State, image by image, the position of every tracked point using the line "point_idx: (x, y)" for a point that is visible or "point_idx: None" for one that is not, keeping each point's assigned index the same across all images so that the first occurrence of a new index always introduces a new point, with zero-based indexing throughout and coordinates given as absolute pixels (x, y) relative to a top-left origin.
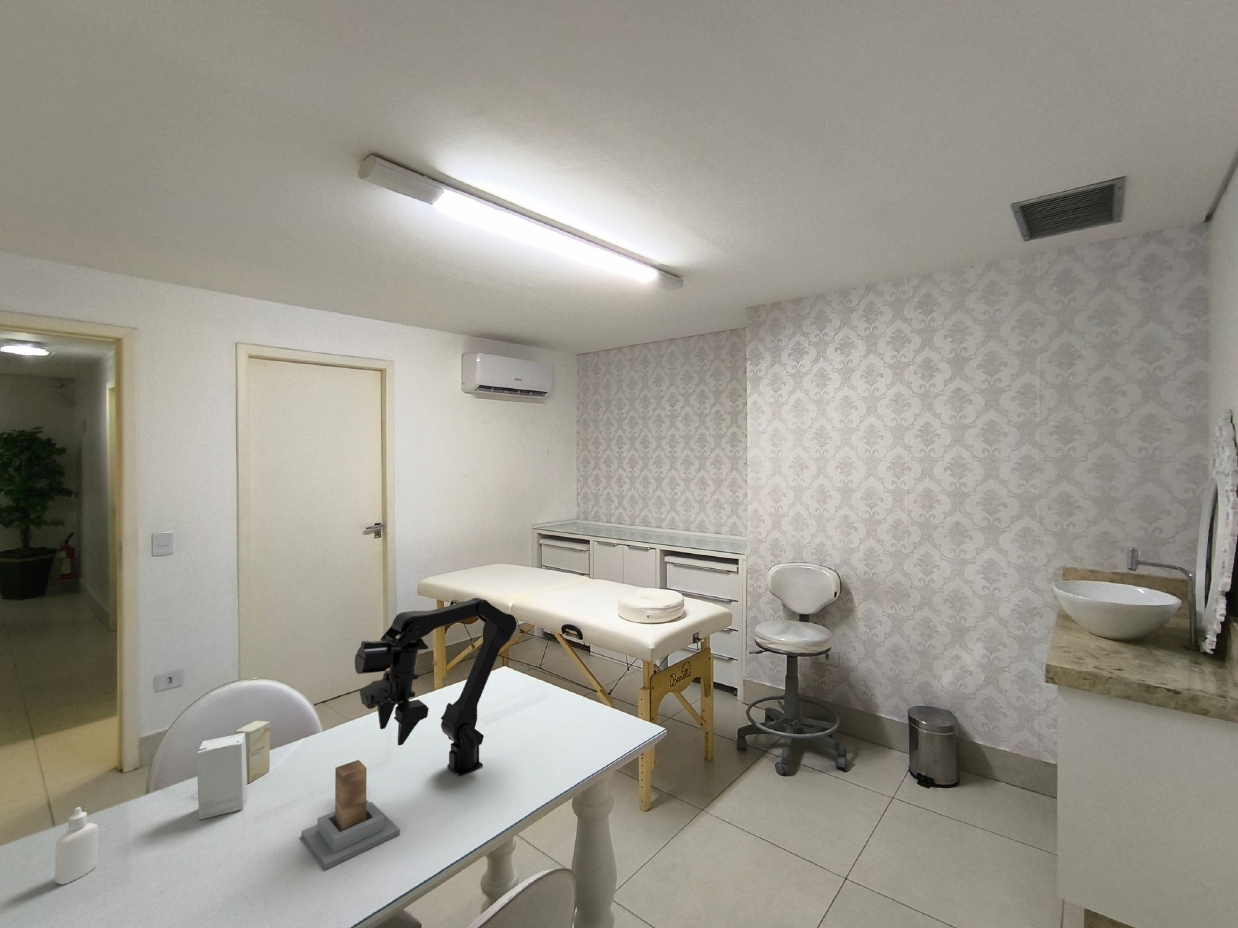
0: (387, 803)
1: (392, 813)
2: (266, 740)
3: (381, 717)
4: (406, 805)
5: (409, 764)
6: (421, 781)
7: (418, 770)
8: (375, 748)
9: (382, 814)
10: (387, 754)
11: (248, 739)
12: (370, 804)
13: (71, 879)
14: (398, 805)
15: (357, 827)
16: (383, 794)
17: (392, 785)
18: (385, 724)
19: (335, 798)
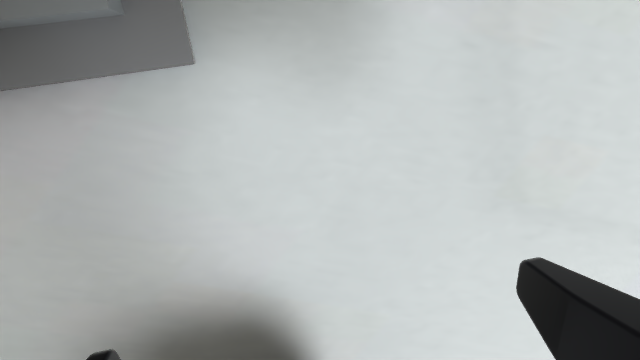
0: (178, 129)
1: (71, 128)
2: None
3: (637, 348)
4: (110, 195)
5: (428, 264)
6: (273, 280)
7: (363, 284)
8: (622, 182)
9: (31, 78)
10: (552, 210)
11: None
12: (13, 15)
13: None
14: (131, 166)
15: None
16: (268, 132)
17: (317, 179)
18: (540, 320)
19: None
